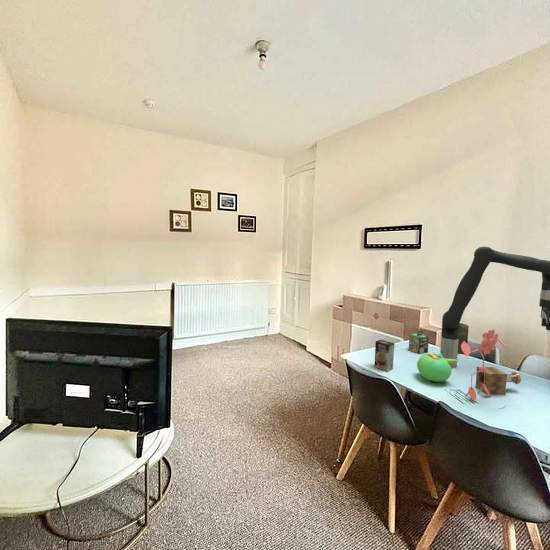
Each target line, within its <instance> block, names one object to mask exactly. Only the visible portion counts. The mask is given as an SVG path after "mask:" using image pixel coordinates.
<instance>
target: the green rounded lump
mask: <svg viewBox="0 0 550 550" xmlns="http://www.w3.org/2000/svg"><path fill="white" fill-rule="evenodd" d="M458 361H459V360H458V359H457V360H456V359H446V358H443V356H442V354H441V353H440V352H439V353H438V354H436V353H431V352H428V353H424V354H422V355H420V357H419V358H418V359H417V362H416V366H417V370H418V373H419V374H420V375H421V376H422V377H423V378H424V379H427V380H429V381H432V382H436V383H441V382H445V381H446V380H448V379H449V378H450V377H451V375H452V367H451V366H450V363H454V362H457V363H458Z"/></svg>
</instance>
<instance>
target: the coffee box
mask: <svg viewBox="0 0 550 550" xmlns="http://www.w3.org/2000/svg"><path fill="white" fill-rule="evenodd" d="M374 348H375V349H374V350H375V351H374V368H376V369H379V370H381V369H382V371H384V372H387V373H388V372H390V371H392V370H393V369H394V357H395V356H394V355H395V343H394V342H392V341H389V340H384V339H378V340H376V341H375V347H374Z"/></svg>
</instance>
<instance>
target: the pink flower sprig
mask: <svg viewBox="0 0 550 550" xmlns="http://www.w3.org/2000/svg"><path fill="white" fill-rule="evenodd" d="M482 338H483V339H482V340H481V342H480V345H479V348H477V349H474V350H472V351H471V346H470V345H469V344H467V343H466V342H465V341H463V343H462V345H461V349H462V351H463V353H462V354H464V355H465V356H466V357H469V356H470V354H473V353H475V352H476V351H479V353H480V354H481V357H482V365H481V366H478V367H479V370H480V371H481V372H484V384H483V387H484V389H485V391H486V392H487V394H488V397H491V395H490V394H489V391H488V389H487V387H486V386H485V371H486V368H485V367H486V366H485V356H486V355H490V353H491V351H495V350H496V348H497V347H496V344H497V343H498V342H499V343H500V344H501V345H502V346H503V347H504V348H508V347H507V346H508V345H506V344H505V343H504V341H503V340H502V339H501V338H500V337H499V333H496V332H495V329H494V328H492V329H489V330H488V331H487V332H483V333H482ZM481 351H483V353H482V352H481ZM480 371H478V372H480ZM478 372H477V371H476V372H474V373H472V374H471V375H470V376H471V377H470V378H471V379H470V380H471V381H470V383H471V384H470V385H471V386H469V387H468V391H467V392H466V393H465V395H464V397H467V396H468V395H469V397H470V399H471V400H472V401H473V402H474V403H475V402H476V401H477V394H480V393H481V392H482V391H481V390H482V389H483V387H482V388H481V389H479V390H478V392H476V389H475V388H474V387H473V375H476V373H478ZM487 394H486V395H487ZM456 398H457V400H459V399H458V397H456ZM504 402H506V400H505V399H504ZM504 408H505V406H503V407H502V408H499V410H500V409H504Z"/></svg>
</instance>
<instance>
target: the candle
mask: <svg viewBox="0 0 550 550" xmlns="http://www.w3.org/2000/svg"><path fill="white" fill-rule="evenodd" d="M463 341H465V342H466V343H467V344H468V341H469V325H468V324H465V323H462V322H460V323H459V339H458V353H457V354H464V353H463V351H462V349H461V345H462V343H463ZM468 345H469V344H468Z"/></svg>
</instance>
